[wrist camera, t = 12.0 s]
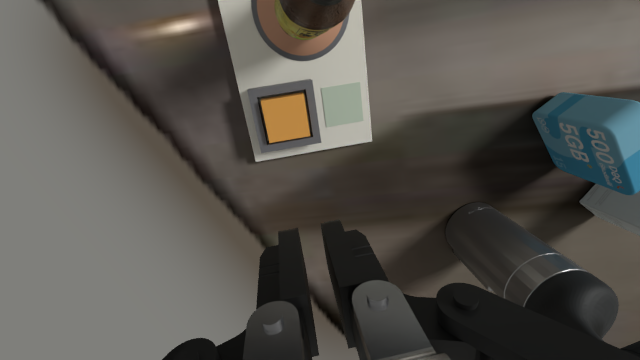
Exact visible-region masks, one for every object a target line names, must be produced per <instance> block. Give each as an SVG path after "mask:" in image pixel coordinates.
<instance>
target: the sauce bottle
mask: <svg viewBox="0 0 640 360" xmlns="http://www.w3.org/2000/svg"><path fill="white" fill-rule="evenodd" d="M354 2H355V0H275V3H274V8H275V14H276V17H277V20H278V22H279V24H280V26H281V28H282V29H283V30H284V31H285V33H286V34H288V35H289V36H291V37H294V38H296V39H299V40H310V39H313V38H316V37H318V36H319V35H321V34H323V33H325V32H327V31H328V30H329V29H331V28H333V27H335V26H336V25H338V24H339V23H341V22H342V21H343V20H344V19H345V18H346V17H347V16H348V14H349V13H350V11H351V9H352V7H353V4H354Z"/></svg>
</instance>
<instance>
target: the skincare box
mask: <svg viewBox="0 0 640 360" xmlns="http://www.w3.org/2000/svg"><path fill="white" fill-rule="evenodd" d="M579 202H580V203H581V204H582V205H583V206H584V207H586V208H587V209H588V210H589V211H591V212H592V213H593V214H594V215H596V216H597V217H598V218H601V219H603V220H605V221H607V222H610V223H612V224H614V225H616V226H619V227H621V228H623V229H625V230H628V231H630V232H632V233H635V234H637V235H639V236H640V191H639V192H637V193H636V194H634V195H625V194H622V193H619V192H617V191H614V190H611V189H609V188H606V187H604V186H601V185H598V184H595V185H594V186H593V187H592V188H591V189H590V190H589V191H588V193H587V194H586V195H585V196H584V197H583V198H582V199H581V200H580V201H579Z"/></svg>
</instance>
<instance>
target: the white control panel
mask: <svg viewBox="0 0 640 360" xmlns="http://www.w3.org/2000/svg"><path fill="white" fill-rule="evenodd" d="M274 3H275V0H218V4H219V8H220V12H221V16H222V21H223V25H224V29H225V33H226V38H227V42H228V46H229V50H230V55H231V59H232V63H233V67H234V72H235V76H236V80H237V84H238V89H239V93H240V97H241V101H242V106H243V110H244V114H245V118H246V123H247V127H248V131H249V135H250V140H251V144H252V148H253V152H254V157H255V161H256V162H258V161H264V160H269V159H275V158H281V157H286V156H292V155H297V154H303V153H309V152H314V151H320V150H326V149H331V148H337V147H342V146H348V145H354V144H359V143H365V142H370V141H372V133H371V120H370V107H369V94H368V82H367V69H366V56H365V43H364V30H363V18H362V5H361V0H355V2H354V4H353V7H352V9H351V11H350V13H349V14H348V16H347V17H346V18H345V19H344V20H343V21H342V22H341V23H339V24H338V25H336V26H335V27H333V28H331V29H329V30H328V31H327V32H325V33H323V34H321V35H319V36H318V37H316V38H313V39H310V40H299V39H296V38H294V37H291V36H289V35H288V34H286V33H285V31H284V30H283V29H282V28H281V26H280V24H279V22H278V20H277V17H276V14H275V8H274ZM301 92H302V93H303V94H304V99H305V105H306V111H307V118H308V124H309V130H310V136H308V137H302V138H296V139H290V140H285V141H279V142H273V143H269V138H268V134H267V129H266V124H265V119H264V115H263V110H262V105H261V99H264V98H270V97H276V96H282V95H289V94H295V93H301Z"/></svg>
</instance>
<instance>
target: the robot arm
mask: <svg viewBox="0 0 640 360" xmlns="http://www.w3.org/2000/svg"><path fill="white" fill-rule="evenodd" d="M321 230H322V236H323V242H324V248H325V254H326V260H327V265H328V270H329V274H330V278H331V282H332V286H333V290H334V294H335V298H336V302H337V305H338V309H339V313H340V317H341V321H342V325H343V329H344V333H345V337H346V340H347V344H348V348H353V347H356V348H357V351H358V355H359V358H360V360H640V341H638V342H636V343H633V344H631V345H628V346H626V347H624V348H621V349H619V348H617V347H614V346H612V345H610V344H608V343H605V342H604V341H603V340H602V338H603V337H604V335H605V334H606V333H607V332H608V330H609V329H610V328H611V326H612V325H613V323H614V321H615V319H616V316H617V313H618V298H617V296H616V294H615V292H614V291H613V290H612V289H611V288H610V287H609V286H608V285H606V284H605V283H604V282H602V281H601V280H599V279H598V278H597V277H595V276H594V275H592V274H591V273H589V272H588V271H586V270H585V269H583V268H582V267H580V266H579V265H577V264H576V263H574V262H573V261H572V260H570V259H569V258H567V257H565V256H564V255H562V254H561V253H560V252H558V251H557V250H555V249H554V248H552V247H551V246H549V245H548V244H546V243H545V242H543V241H542V240H540V239H539V238H537V237H536V236H534V235H533V234H531V233H530V232H529V231H527V230H526V229H524V228H523V227H521V226H520V225H518V224H517V223H515V222H514V221H512V220H511V219H509V218H508V217H506V216H505V215H503V214H502V213H500V212H499V211H497V210H496V209H494V208H493V207H491V206H490V205H489V204H486V203H481V202H476V203H470V204H467V205H465V206H463V207H461V208H460V209H459V210H457V211H456V212H455V213H454V214H453V215H452V217H451V218H450V219H449V221H448V223H447V226H446V230H445V236H446V240H447V242H448V243H449V245H450V246H451V247H452V248H453V253H454V254H455V255H456V256H457V257H458V258H459V259H460V261H461V262H462V263H463V264H464V265H465V266H466V267H467V268H468V269H469V270H470V271H471V272H472V274H473V275H474V276H475V277H476V278H477V279H478V280H479V281H480V282H481V283H482V284H483V285H484V286H485V288H486V289H487V290H489V291H494V292H495V293H496V294H497V295H495V294H493V293H491V292H488V291H486V290H484V289H481V288H479V287H477V286H474V285H471V284H466V283H452V284H448V285H445V286H444V287H442V288H441V289H440V290H439V291H438V293H437V297H436V298H426V297H413V296H409V295H406V294H403V293H402V292H401V290H400V289H399V288H398V287H397V286H395V285H394V284H392V283H390V282H389V281H388V279H387V277H386V275H385V273H384V271H383V269H382V267H381V265H380V263H379V261H378V260H377V258H376V256H375V254H374V252H373V250H372V248H371V246H370V244H369V242H368V240H367V238H366V236H365V235H363V234H362V233H360V232H359V231H357V230H352V231H347V232H345V231H344V229H343V226H342V224H341V221H340V220H334V221H329V222H324V223H321ZM278 239H279V245H276V246H271V247H266V249H265V250H264V252H263V253H262V255H261V257H260V266H259V268H260V269H259V280H258V293H257V308H256V311H254V313H253V314H252V315H251V316H250V318H249V320H248V323H247V327H246V329H245V330H244V331H243V332H242V333H241V334H239V335H238V336H236V337H234V338H232V339H230V340H228V341H226V342H224V343H222V344H220V345H218V346H217V347H216V346H215V344H214V343H213V342H212V341H210V340H209V339H205V338H196V339H191V340H188V341H186V342H184V343H182V344H180V345H178V346H177V347H176V348H174V349H173V350H172V351H171V352H169V353H168V354H167V356H165V357H164V358H163V359H162V360H312V357H314V356H318V355H319V353H318V345H317V339H316V332H315V326H314V319H313V313H312V306H311V299H310V293H309V286H308V279H307V273H306V268H305V262H304V257H303V252H302V247H301V242H300V237H299V232H298V228H293V229H288V230H283V231H279V232H278Z"/></svg>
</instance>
